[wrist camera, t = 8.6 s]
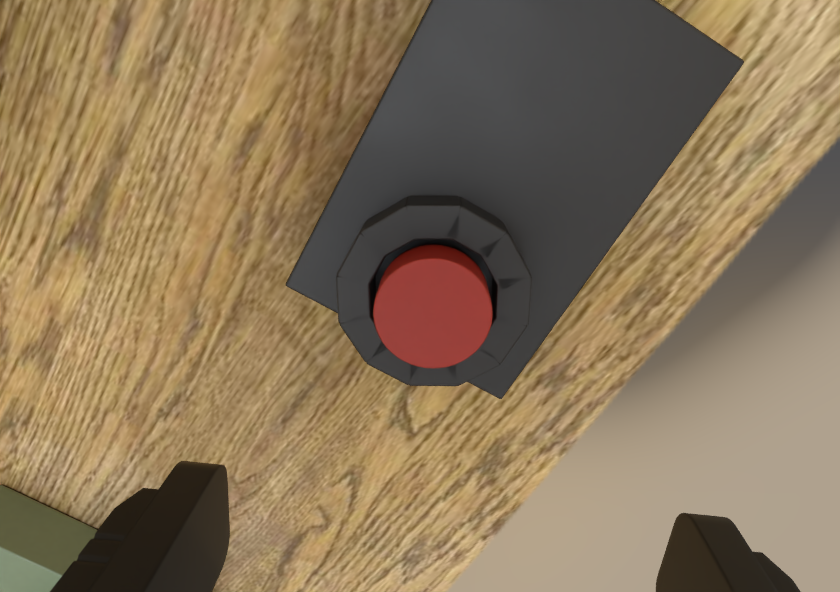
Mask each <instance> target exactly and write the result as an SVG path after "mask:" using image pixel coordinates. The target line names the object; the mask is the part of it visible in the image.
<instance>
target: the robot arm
mask: <svg viewBox="0 0 840 592" xmlns="http://www.w3.org/2000/svg"><path fill="white" fill-rule="evenodd" d="M229 536H230V526H229V503H228V481H227V470H226V467H225V466H224V465H218V464H208V463H198V462H188V461H181V462H179V463H178V464H177V465H176V466H175V467H174V468H173V470H172V471H171V473H170V474H169V475H168V477H167V478H166V480H165V481H164V483H163V484H162V485H161V487H160V488H159V490H157V489H148V488H143V489H141V490H140V491H138V492H137V493H136V494H134V495H133V496H131V497H130V498H128V499H127V500H126V501H124V502H123V503H121V504H120V505H119V506H117V507H116V508H114V510H113V511H112V512H111V514H110V515H109V516H108V517H107V519H106V520H105V521H104V523H103V524H102V525H101V526H100V528H99V529H98V530H97V532H96V533H95V537H94V539H90V541H89V542H88V543H87V544H86V546H85V547H84V548H83V550H82V551H81V552H80V553H79V555H78V559H77V561H73V562H72V564H71V565H70V566H69V568H68V569H67V570H66V572H65V573H64V574H63V575H62V577H61V578H60V579H59V581H58V582H57V583H56V584H55V586H54V587H53V588H52V590H51V591H50V592H212V590H213V588H214V585H215V583H216V581H217V579H218V577H219V575H220V572H221V570H222V568H223V565H224V562H225V559H226V555H227V550H228V545H229ZM656 592H800V590H799V589H798V587H797V586H796V584H795V583H794V582H793V580H792V579H791V578H790V577H789V576H788V575H786V574H785V573H784V572H783V571H782V570H781V569H780V568H779V567H777V566H776V565H775V564H774V563H773V562H772V561H771V560H770V559H769V558H768V557H766V556H765V555H764V554H763V553H760V552H752V551H751V549H750V547H749V546H748V544H747V543H746V541H745V540H744V538H743V537H742V535H741V533H740V532H739V530H738V529H737V527H736V526H735V524H734V523H733V522H732V521H731V520H730V519H728V518H725V517H717V516H708V515H698V514H688V513H681V514H680V515H679V516H678V517H677V518H676V520H675V523H674V526H673V529H672V532H671V536H670V539H669V542H668V545H667V548H666V551H665V554H664V557H663V561H662V564H661V567H660V570H659V573H658V577H657V582H656Z"/></svg>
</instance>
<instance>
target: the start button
mask: <svg viewBox="0 0 840 592" xmlns="http://www.w3.org/2000/svg"><path fill="white" fill-rule="evenodd" d="M373 317H374V324H375V328H376V331H377V333H378V335H379V337H380V339H381V341H382V342H383V344H384V345H385V346H386V348H387V349H388V350H389V351H390V352H391V353H393V354H394V355H395V356H396V357H398V358H399V359H401V360H403V361H405V362H407V363H409V364H411V365H415V366H418V367H423V368H443V367H448V366H452V365H455V364H457V363H460V362H462V361H464V360H465V359H467V358H469V357H470V356H471V355H472V354H474V353H475V352H476V351H477V350H478V349H479V348H480V346H481V345H482V344H483V343H484V341H485V339H486V338H487V336H488V333H489V331H490V328H491V324H492V317H493V311H492V303H491V298H490V294H489V290H488V285H487V282H486V279H485V277H484V275H483V273H482V271H481V269H480V268H479V266H478V265H477V264H476V263H475V262H474V261H473V260H472V259H471V258H470V257H469V256H467V255H466V254H464V253H463V252H461V251H459V250H457V249H455V248H452V247H449V246H444V245H435V244H432V245H423V246H418V247H415V248H412V249H410V250H407V251H405V252H404V253H402V254H401V255H399V256H398V257H397V258H396V259H394V260H393V261H392V262H391V264H390V265H389V266H388V267H387V269H386V270H385V272H384V274H383V276H382V278H381V281H380V284H379V288H378V291H377V294H376V297H375V301H374V307H373Z"/></svg>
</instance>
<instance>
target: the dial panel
mask: <svg viewBox="0 0 840 592" xmlns="http://www.w3.org/2000/svg"><path fill="white" fill-rule="evenodd" d="M96 532H97V529H95V528H93V527H90V526H88V525H86V524H84V523H82V522H80V521H78V520H76V519H73V518H71V517H69V516H67V515H65V514H63V513H61V512H59V511H56V510H54V509H52V508H50V507H48V506H46V505H44V504H41V503H39V502H37V501H35V500H33V499H31V498H29V497H27V496H24V495H22V494H20V493H18V492H16V491H14V490H12V489H10V488H7V487H5V486H3V485H0V592H50V591H51V590H52V588H53V587H54V586H55V584H56V583H57V582H58V581H59V579H60V578H61V577H62V575H63V574H64V573H65V572H66V570H67V569H68V568H69V566H70V565H71V564H72V562H73V561H77V559H78V555H79V553H80V552H81V551H82V550H83V548H84V547H85V546H86V544H87V543H88V542H89V541H90V539H94V537H95V533H96Z"/></svg>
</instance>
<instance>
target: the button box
mask: <svg viewBox="0 0 840 592" xmlns="http://www.w3.org/2000/svg"><path fill="white" fill-rule="evenodd" d="M743 63H744V61H743V60H742V59H741V58H739V57H738V56H736V55H735V54H733V53H732V52H730V51H729V50H727V49H726V48H724V47H723V46H721V45H720V44H718V43H717V42H716V41H714V40H713V39H711V38H710V37H708V36H707V35H705V34H704V33H702V32H701V31H699V30H698V29H696V28H695V27H694V26H692V25H691V24H689V23H688V22H686V21H685V20H683V19H682V18H680V17H679V16H677V15H676V14H674V13H673V12H672V11H670V10H669V9H667V8H666V7H664V6H663V5H661V4H660V3H658V2H657V1H655V0H431V2H430V4H429V6H428V8H427V10H426V12H425V14H424V16H423V17H422V19H421V21H420V23H419V25H418V27H417V29H416V31H415V33H414V35H413V37H412V39H411V41H410V43H409V45H408V47H407V49H406V51H405V52H404V54H403V56H402V58H401V60H400V62H399V64H398V66H397V68H396V70H395V72H394V74H393V76H392V78H391V80H390V82H389V84H388V86H387V88H386V89H385V91H384V93H383V95H382V97H381V99H380V101H379V103H378V105H377V107H376V109H375V111H374V113H373V115H372V117H371V119H370V121H369V123H368V125H367V126H366V128H365V130H364V132H363V134H362V136H361V138H360V140H359V142H358V144H357V146H356V148H355V150H354V152H353V154H352V156H351V158H350V160H349V162H348V163H347V165H346V167H345V169H344V171H343V173H342V175H341V177H340V179H339V181H338V183H337V185H336V187H335V189H334V191H333V193H332V195H331V197H330V199H329V200H328V202H327V204H326V206H325V208H324V210H323V212H322V214H321V216H320V218H319V220H318V222H317V224H316V226H315V228H314V230H313V232H312V234H311V236H310V237H309V239H308V241H307V243H306V245H305V247H304V249H303V251H302V253H301V255H300V257H299V259H298V261H297V263H296V265H295V267H294V269H293V271H292V273H291V274H290V276H289V278H288V280H287V282H286V286H287V287H289V288H291V289H293V290H295V291H297V292H299V293H300V294H302V295H304V296H306V297H308V298H310V299H312V300H314V301H316V302H318V303H319V304H321V305H323V306H325V307H327V308H329V309H331V310H333V311H335V312H336V313H338V320H339V323H340V326H341V327H342V329H343V330H344V332H345V333H346V335H347V336H348V338H349V339H350V340H351V342H352V343H353V345H354V346H355V348H356V349H357V351H358V352H359V354H360V355H361V357H362V358H363V360H364V361H365V362H366V363H367V364H368V365H370V366H372V367H374V368H376V369H378V370H380V371H382V372H384V373H386V374H388V375H390V376H391V377H393V378H395V379H397V380H399V381H401V382H403V383H405V384H407V385H408V384H409V385H410V386H459V385H461V384H463V383H465V382H469V383H471V384H473V385H475V386H477V387H478V388H480V389H482V390H484V391H486V392H488V393H490V394H492V395H494V396H496V397H497V398H499V399H502V398H503V396H504V395H505V393H506V392H507V391H508V389H509V388H510V387H511V385H512V384H513V382H514V381H515V380H516V378H517V377H518V375H519V374H520V373H521V371H522V370H523V368H524V367H525V366H526V364H527V363H528V362H529V360H530V359H531V357H532V356H533V355H534V353H535V352H536V350H537V349H538V348H539V346H540V345H541V344H542V342H543V341H544V339H545V338H546V337H547V335H548V334H549V332H550V331H551V330H552V328H553V327H554V325H555V324H556V323H557V321H558V320H559V319H560V317H561V316H562V314H563V313H564V312H565V310H566V309H567V307H568V306H569V305H570V303H571V302H572V301H573V299H574V298H575V296H576V295H577V294H578V292H579V291H580V289H581V288H582V287H583V285H584V284H585V282H586V281H587V280H588V278H589V277H590V276H591V274H592V273H593V271H594V270H595V269H596V267H597V266H598V264H599V263H600V262H601V260H602V259H603V258H604V256H605V255H606V253H607V252H608V251H609V249H610V248H611V246H612V245H613V244H614V242H615V241H616V239H617V238H618V237H619V235H620V234H621V233H622V231H623V230H624V228H625V227H626V226H627V224H628V223H629V221H630V220H631V219H632V217H633V216H634V215H635V213H636V212H637V210H638V209H639V208H640V206H641V205H642V203H643V202H644V201H645V199H646V198H647V197H648V195H649V194H650V192H651V191H652V190H653V188H654V187H655V185H656V184H657V183H658V181H659V180H660V178H661V177H662V176H663V174H664V173H665V172H666V170H667V169H668V167H669V166H670V165H671V163H672V162H673V160H674V159H675V158H676V156H677V155H678V154H679V152H680V151H681V149H682V148H683V147H684V145H685V144H686V142H687V141H688V140H689V138H690V137H691V135H692V134H693V133H694V131H695V130H696V129H697V127H698V126H699V124H700V123H701V122H702V120H703V119H704V117H705V116H706V115H707V113H708V112H709V111H710V109H711V108H712V106H713V105H714V104H715V102H716V101H717V99H718V98H719V97H720V95H721V94H722V92H723V91H724V90H725V88H726V87H727V86H728V84H729V83H730V81H731V80H732V79H733V77H734V76H735V74H736V73H737V72H738V70H739V69H740V68H741V66H742V65H743ZM432 244H435V245H444V246H449V247H452V248H455V249H457V250H459V251H461V252H463V253H464V254H466V255H467V256H469V257H470V258H471V259H472V260H473V261H474V262H475V263H476V264H477V265H478V266H479V268H480V269H481V271H482V273H483V275H484V277H485V279H486V282H487V285H488V290H489V294H490V298H491V303H492V311H493V317H492V324H491V328H490V331H489V333H488V336H487V338H486V339H485V341H484V343H483V344H482V345H481V346H480V348H479V349H478V350H477V351H476V352H475V353H474V354H472V355H471V356H470V357H469V358H467V359H465V360H464V361H462V362H460V363H457V364H455V365H452V366H448V367H443V368H423V367H418V366H415V365H411V364H409V363H407V362H405V361H403V360H401V359H399V358H398V357H396V356H395V355H394V354H393V353H391V352H390V351H389V350H388V349H387V348H386V346H385V345H384V344H383V342H382V341H381V339H380V337H379V335H378V333H377V331H376V328H375V324H374V317H373V307H374V301H375V297H376V294H377V291H378V288H379V284H380V281H381V278H382V276H383V274H384V272H385V270H386V269H387V267H388V266H389V265H390V264H391V262H392V261H393V260H394V259H396V258H397V257H398V256H399V255H401V254H402V253H404V252H405V251H407V250H410V249H412V248H415V247H418V246H423V245H432Z"/></svg>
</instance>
